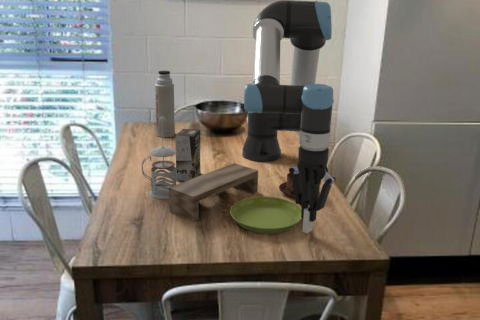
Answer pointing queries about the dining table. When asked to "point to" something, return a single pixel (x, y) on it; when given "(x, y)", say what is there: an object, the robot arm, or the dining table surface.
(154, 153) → the french press
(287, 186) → the cup and saucer
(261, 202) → the green plate
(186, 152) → the coffee box
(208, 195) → the stand
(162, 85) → the thermos bottle
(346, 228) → the dining table surface
